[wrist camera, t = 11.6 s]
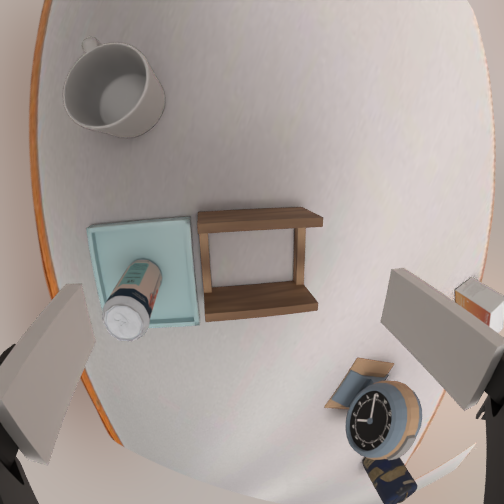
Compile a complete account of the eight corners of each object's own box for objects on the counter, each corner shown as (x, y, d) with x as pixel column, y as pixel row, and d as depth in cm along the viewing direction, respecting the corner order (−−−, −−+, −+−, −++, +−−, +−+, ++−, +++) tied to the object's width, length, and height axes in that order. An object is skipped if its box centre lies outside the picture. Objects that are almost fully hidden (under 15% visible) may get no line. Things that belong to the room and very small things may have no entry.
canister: (355, 466, 61) (379, 514, 44) (373, 445, 59) (402, 495, 42) (380, 461, 64) (405, 504, 47) (398, 441, 61) (427, 486, 44)
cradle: (198, 212, 36) (197, 223, 29) (302, 206, 37) (323, 217, 31) (204, 295, 39) (205, 321, 32) (299, 286, 41) (317, 310, 34)
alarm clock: (360, 352, 47) (413, 422, 30) (396, 358, 49) (448, 417, 33) (321, 410, 50) (356, 481, 33) (358, 412, 53) (396, 473, 36)
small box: (454, 289, 47) (490, 312, 37) (471, 276, 47) (507, 296, 37) (454, 319, 50) (486, 344, 40) (471, 306, 50) (503, 328, 40)
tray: (91, 225, 34) (86, 228, 32) (190, 216, 36) (189, 219, 34) (110, 322, 38) (107, 329, 36) (199, 318, 40) (199, 325, 38)
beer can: (142, 299, 37) (123, 352, 26) (119, 271, 35) (89, 317, 24) (170, 279, 37) (158, 330, 26) (147, 250, 35) (124, 290, 24)
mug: (177, 114, 32) (167, 94, 21) (116, 151, 32) (83, 149, 21) (136, 41, 28) (115, 2, 17) (79, 77, 28) (40, 53, 17)
